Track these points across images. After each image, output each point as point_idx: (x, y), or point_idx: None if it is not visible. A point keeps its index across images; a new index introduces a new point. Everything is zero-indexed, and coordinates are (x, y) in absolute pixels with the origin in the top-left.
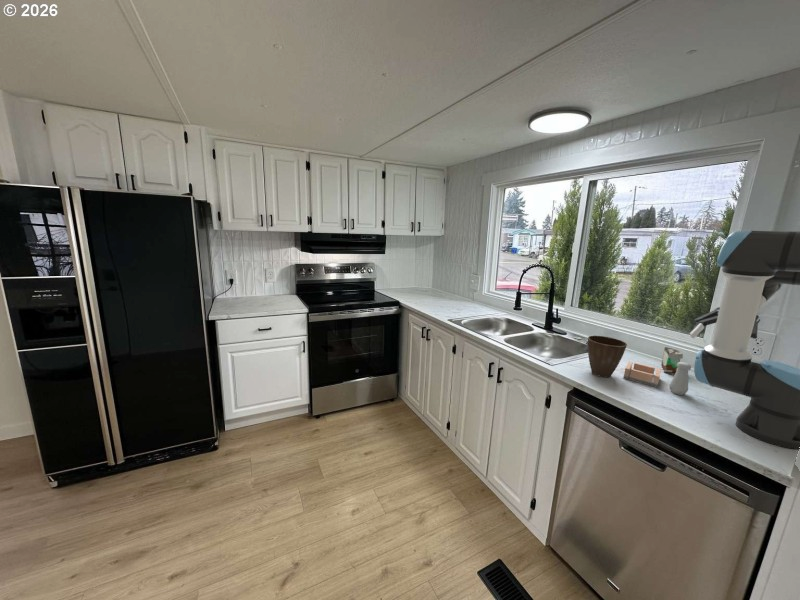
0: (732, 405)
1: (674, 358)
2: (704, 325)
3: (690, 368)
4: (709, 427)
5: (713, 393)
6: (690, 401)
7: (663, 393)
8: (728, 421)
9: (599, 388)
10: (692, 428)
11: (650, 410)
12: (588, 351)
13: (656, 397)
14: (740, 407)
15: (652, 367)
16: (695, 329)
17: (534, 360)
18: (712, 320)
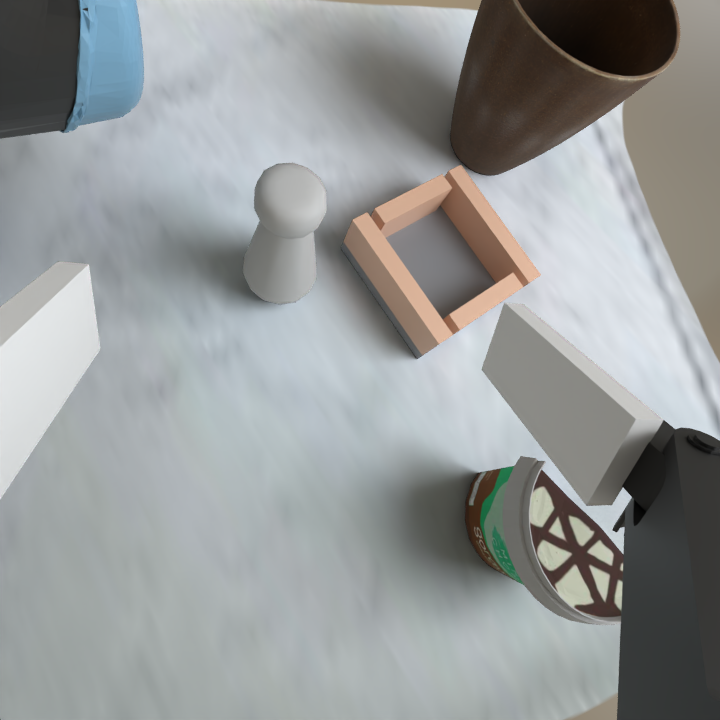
0: (107, 412)
1: (508, 486)
2: (628, 521)
3: (254, 203)
4: None
5: (232, 471)
6: (198, 246)
7: None
8: (16, 203)
9: (368, 21)
10: None
11: (187, 17)
12: (565, 19)
13: (263, 144)
14: (79, 431)
15: (460, 314)
16: (554, 343)
17: None
18: (669, 581)
